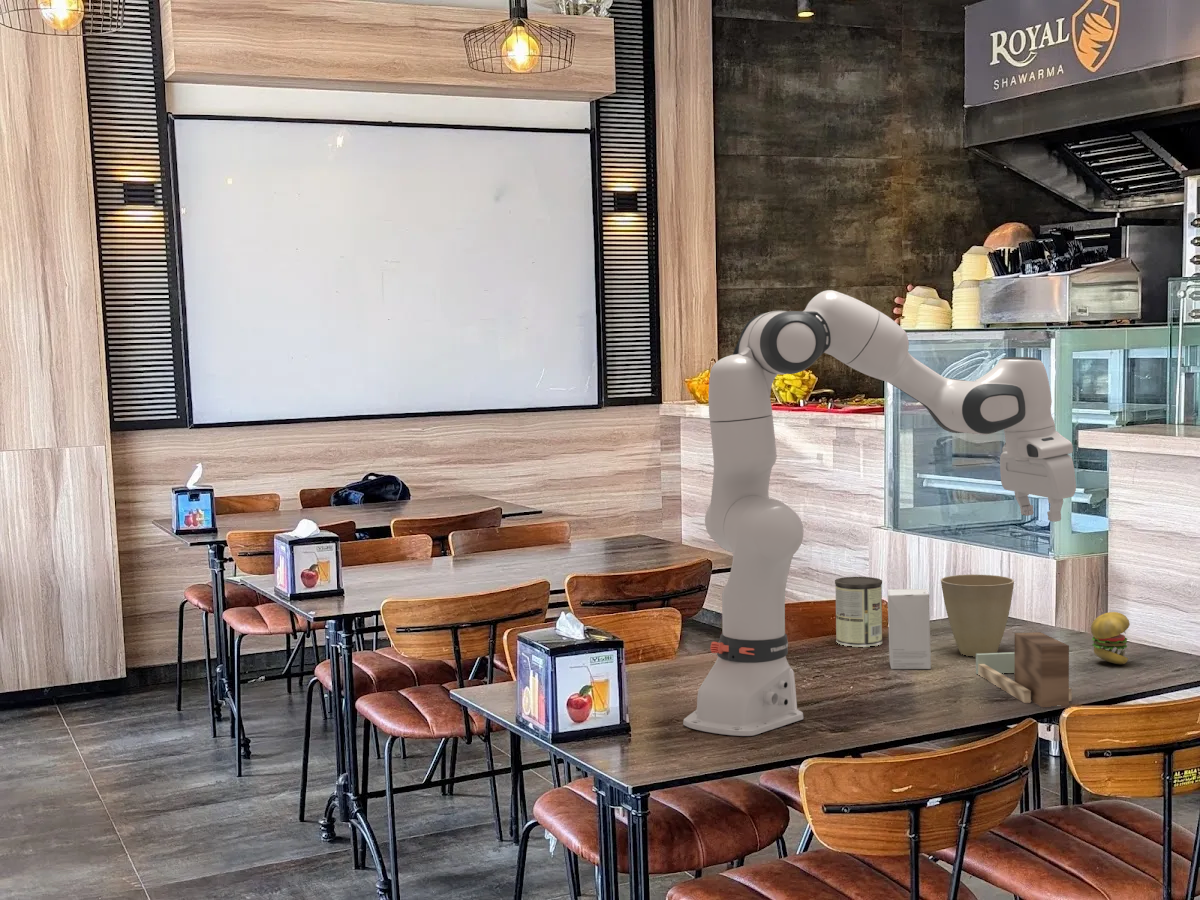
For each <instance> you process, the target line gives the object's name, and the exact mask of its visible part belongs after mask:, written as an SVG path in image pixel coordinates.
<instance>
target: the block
mask: <svg viewBox="0 0 1200 900" xmlns="http://www.w3.org/2000/svg"><path fill="white" fill-rule="evenodd" d="M1014 652H1015V672H1014V674H1013V675H1014V677H1013V679H1014V680H1013V681H1015V682H1016V683H1018V684H1020V685H1021V686H1023V687H1025V688H1027V689H1028V690H1030V691H1031V702H1032V703H1034V704H1035V705H1036V706H1039V707H1040V708H1052V707H1051V706H1057V705H1061V706H1060V707H1069V705H1070V701H1069V688H1070V685H1069V684H1070V645H1068V644H1067V643H1064V642H1062V641H1060V640H1058V639H1055V638H1054V637H1051V636H1050V635H1047V634H1045V633H1043V632H1040V631H1038V632H1037V631H1035V632H1033V631H1032V632H1015V633H1014Z"/></svg>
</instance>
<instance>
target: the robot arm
mask: <svg viewBox="0 0 1200 900" xmlns="http://www.w3.org/2000/svg"><path fill="white" fill-rule="evenodd" d="M909 345H910V343H909V337H908V334H907V332H906V330H904V329H903V327H902V326H901V325H899V324H898V323H897V322H896V321H895V320H894V319H892V318H891V317H890V316H888V315H886V314H885V313H883V312H882V311H880V310H878V309H876V308H875V307H873V306H871V305H869V304H867V303H865V302H864V301H861V300H859V299H858V298H855V297H852V296H850V295H848V294H845V293H842V292H839V291H838V290H837V291H836V290H832V289H827V290H823V291H820V292H819V293H818V294H816V295H815V296H814V297H812V298H811V300H809V301H808V303H807V304H806V306H805V309H804V310H803V311H802V310H801V311H798V310H797V311H796V310H790V311H787V310H772V311H769V312H765V313H764V312H763V313H760V314H757V315H755V316H754V317H752V318H751V319H750V320H749V321H748V322H747V323H746V324H745V326H744V327H743V329H742V331H741V332H740V335H739V337H738V341H737V343H736V346H735V348H734V349H733V353H732V354H731V355H727V356H725V357H722V358H720V359H719V360H717V361H716V362H715V363H714V364H713V366H712V367H711V368H710V372H709V381H708V416H709V417H708V418H709V427H710V434H711V436H710V437H711V444H712V445H711V448H712V457H713V476H712V485H711V486H712V487H711V496H710V502H709V503H710V504H709V506H708V508H706V509H707V510H706V512H705V516H704V524H705V529H706V532H707V533H708V535H709V536H710V538H711V539H712V540H713V541H714V542H715V543H716V544H717V545H718V546H719V547H720V548H721V549H723V550H725V551H727V552H730V553H732V562H731V568H730V573H729V577H728V580H727V582H726V584H725V585H724V586H723V589H722V594H721V602H722V603H721V604H722V606H721V607H722V608H721V611H722V612H721V613H722V614H721V618H722V625H721V626H722V632H721V634H720V636H719V640H718V642H717V641H711V642H710V645H709V646H710V647H709V649H710V651H711V653H712V654H716V656H717V658H716V661H715V662H714V664H713V666H712V667H711V669H710V670H709V672H708V674H706V677H705V679H704V680H703V682H702V684H701V685H700V686H699V688H698V691H697V697H696V709H695V710H694V711H693V712H691V713H690V714H688V715H687V716H685V718H683V723H682V725H683V726H685V727H686V728H689V729H693V730H696V731H700V732H706V733H710V734H711V733H712V734H719V735H727V736H735V737H736V736H738V737H739V736H740V737H751V736H752V737H753V736H757V735H759V734H761V733H766V732H768V731H771V730H775V729H778V728H781V727H784V726H786V725H790V724H792V723H795V722H799V721H802V720H804V713H803V711H801V710H800V709H798V703H797V692H796V691H797V690H796V680H795V672H794V670H793V668H792V667H791V665H790V664H789V661H788V659H787V655H788V653H789V652H788V651H789V650H788V647H789V641H788V635H787V633H786V619H785V618H786V617H785V616H786V615H785V614H786V612H785V611H786V607H785V606H786V597H785V596H786V588H787V583H788V577H789V571H790V568H791V564H792V560H793V557H794V555H795V554H796V553H797V552H798V550H799V548H800V547H801V545H802V543H803V539H804V525H803V522H802V520H801V518H800V516H799V515H798V513H797V512H796V511H795V510H794V509H793V508H791V507H790V506H788V505H787V504H785V503H784V502H783V501H780V500H778V499H775V498H770V495H769V488H770V487H769V486H770V481H771V473H772V469H773V466H774V465H775V463H776V460H777V456H778V455H777V454H778V453H777V447H776V435H775V427H774V425H775V424H774V417H773V416H774V414H773V407H772V401H771V393H772V386H773V384H774V383H773V382H774V380H775V379H776V377H777V376H778V375H794V374H798V373H802V372H803V371H805V370H806V369H808V368H810V367H811V366H812V365H814V364H815V362H816V361H817V360H818V359H819V358H820V357H821V356H822V355H823V354H827V355H828V356H829V355H830V356H831V357H833V358H835V359H836V360H838V361H839V362H841V363H842V364H844V365H846V366H848V367H849V368H851V369H853V370H855V371H857V372H860V373H862V374H864V375H867V376H868V377H871V378H874V379H877V380H881V381H884V382H886V383H889V384H890V385H892V386H893V387H895V388H897V389H898V390H900V391H901V392H903V393H904V394H905V395H908V396H909V397H910V398H912V399H913V400H915V401H916V402H918V403H919V404H921V405H922V406H923V407H924V409H926V410H927V411H928V413H929V414H930V416H931V417H932V418H933V420H934V421H935V423H936V424H937V425H938V426H939V427H941V428H942V430H945V431H947V432H949V433H953V434H972V435H979V436H980V435H984V436H986V435H991V434H994V433H997V432H1000V431H1004V439H1005V442H1004V443H1005V444H1004V445H1003V447H1002V448H1001V449H1002V453H1001V454H1000V455H999V456H1000V457H999V469H1000V470H999V471H1000V482H1001V486H1002V488H1003V490H1005V491H1011V492H1014V498H1015V499H1016V502H1017V503H1018V505H1019V507H1020V508H1019V509H1020V514H1021V515H1022V516H1026V517H1028V516H1033V515H1034V505H1033V504H1031V502H1030V499H1029V495H1032V496H1036V497H1041V498H1042V497H1043V498H1047V500H1048V504H1050V506H1049V511H1047V513H1046V514H1047V520H1048V521H1049V522H1053V523H1055V522H1060V521H1061V520H1062V514H1061V512H1062V507H1063V504H1064V499H1068V498H1072V497H1074V495H1075V493H1076V491H1077V482H1076V474H1075V465H1074V462H1073V458H1072V457H1071V454H1072V453H1073V452H1074V449H1073V446H1074V445H1073V443H1072V442H1071V441H1070V440H1069V439H1068V438H1066V437H1064V436H1063V435H1061V434H1060V432H1059V431H1056V425H1055V424H1056V423H1055V420H1054V417H1053V415H1052V411H1051V410H1052V409H1051V408H1052V403H1053V400H1052V392H1051V387H1050V381H1049V377H1048V372H1047V370H1046V368H1045V365H1044V363H1043V361H1042V360H1040V359H1039V358H1037V357H1031V356H1005V357H1001V358H1000V359H999V360H998V362H997V364H996V365H994V366H993V367H992V368H991V369H990V370H989V371H988V372H986V373H985V374H984V375H982V376H980V377H978V378H977V379H975V380H965V379H961V378H960V379H959V378H950V377H949V378H948V377H945V376H944V375H943V376H942V375H941V374H939V373H938V372H936V371H935V370H933V369H932V368H930V367H928V366H927V365H926V364H924V363H922V362H921V361H919V360H918V359H916V358H915V357H913V356H912V354H911V353H909V347H910V346H909Z"/></svg>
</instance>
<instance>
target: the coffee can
mask: <svg viewBox="0 0 1200 900" xmlns="http://www.w3.org/2000/svg"><path fill="white" fill-rule="evenodd" d="M834 584H835V585H834V586H835V633H836V635H835V636H836V637H835V638H836V639H835V643H836V642H837V643H838V644H837V643H836V644H837V645H839V644H840V645H839V646H842V645H844V646H843V647H847V646H852V647H851V648H858V647H863V648H871V647H870V646H875V647H878V645H879V646H881V645H882V644H883V643H884V642H883V607H882V605H883V604H882V603H883V602H882V600H883V597H882V596H883V595H882V594H883V593H882V591H883V590H882V585H883V580H882V579H880V578H876V577H870V576H844V577H838V578H835V580H834Z"/></svg>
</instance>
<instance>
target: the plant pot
mask: <svg viewBox="0 0 1200 900" xmlns="http://www.w3.org/2000/svg"><path fill="white" fill-rule="evenodd" d="M1014 584H1015V580H1014V579H1013V578H1010V577H1008V576H1003V575H993V574H992V575H991V574H955V575H949V576H944V577H942V578H941V579H940V585H941V590H942V597H943V602H944V606H945V610H946V615H947V618H948V622H949V626H950V628H951V631H952V635H953V638H954V641H955V643H956V646H957V648H958V651H959V653H960V655H962V654H963V655H962V656H964V655H966V656H965V657H968V656H973V657H972V658H976V654H981V653H998V652H999V648H1000V646H1001V643H1002V640H1003V637H1004V634H1005V630H1006V627H1007V622H1008V619H1009V615H1010V611H1011V610H1010V609H1011V606H1012V598H1013V593H1014Z"/></svg>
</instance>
